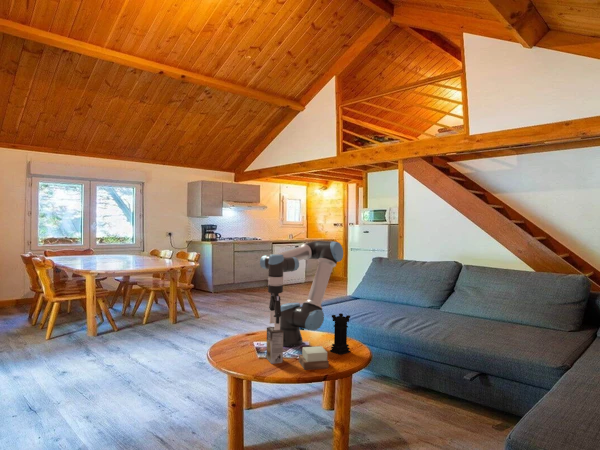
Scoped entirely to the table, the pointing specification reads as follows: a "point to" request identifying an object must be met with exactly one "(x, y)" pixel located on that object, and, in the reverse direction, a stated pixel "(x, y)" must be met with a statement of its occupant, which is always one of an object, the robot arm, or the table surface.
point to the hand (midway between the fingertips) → (274, 326)
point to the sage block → (314, 353)
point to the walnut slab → (312, 364)
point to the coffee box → (274, 345)
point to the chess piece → (340, 335)
